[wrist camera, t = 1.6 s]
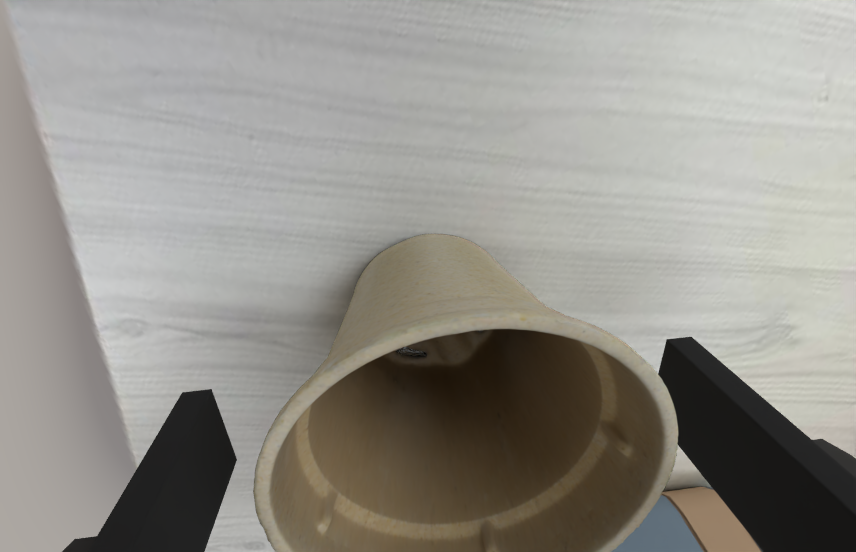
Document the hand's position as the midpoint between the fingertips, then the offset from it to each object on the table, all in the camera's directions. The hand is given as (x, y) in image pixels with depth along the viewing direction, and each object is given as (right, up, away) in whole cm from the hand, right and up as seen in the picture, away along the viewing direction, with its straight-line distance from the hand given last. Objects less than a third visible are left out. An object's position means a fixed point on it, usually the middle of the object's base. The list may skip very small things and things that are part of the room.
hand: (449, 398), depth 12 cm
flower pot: (-1, +3, +5) cm, 6 cm away
